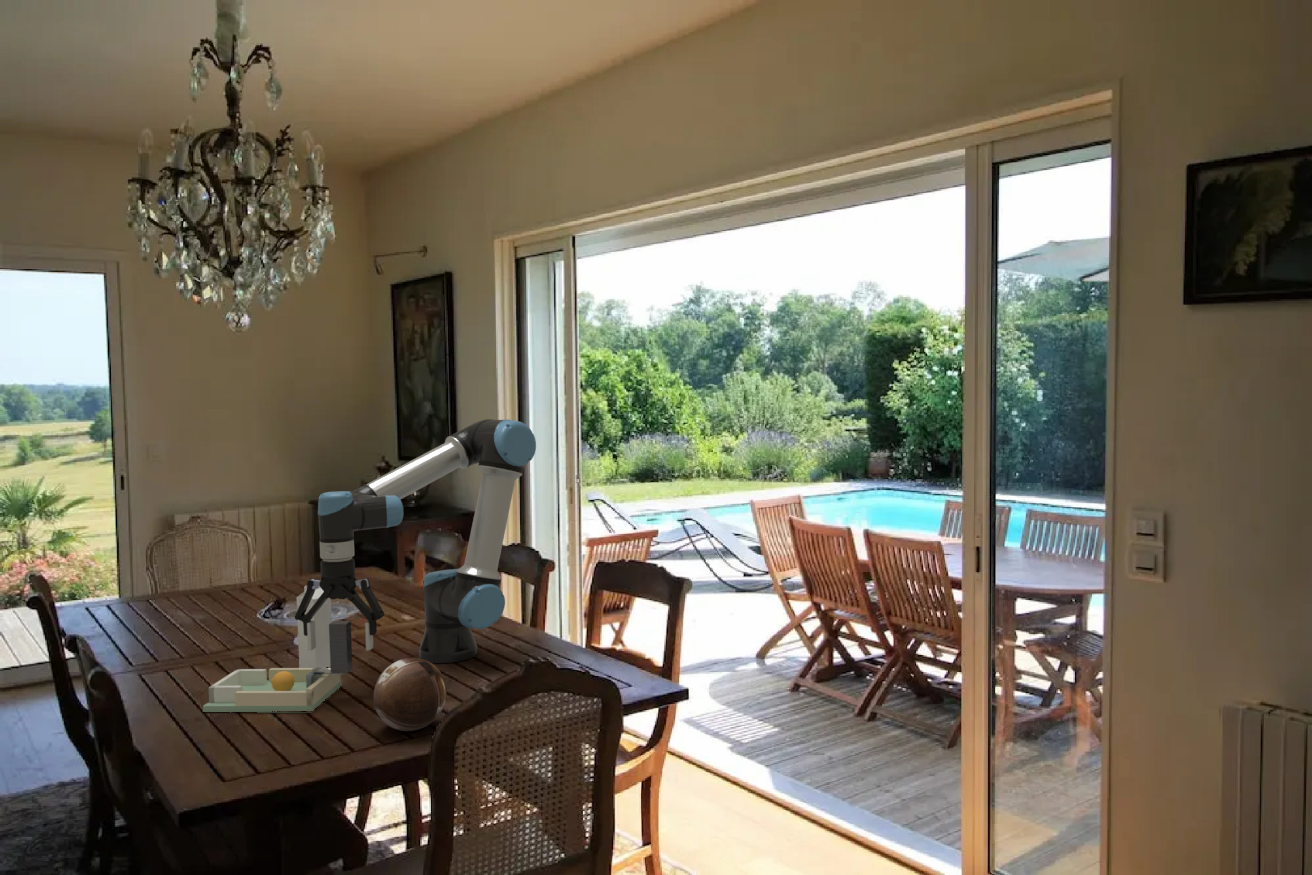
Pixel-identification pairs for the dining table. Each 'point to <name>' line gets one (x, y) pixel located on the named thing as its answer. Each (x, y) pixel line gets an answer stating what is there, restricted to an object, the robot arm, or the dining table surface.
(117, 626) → the dining table surface
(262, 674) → the pitch
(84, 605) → the dining table surface
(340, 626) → the kicker rod
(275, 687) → the ball
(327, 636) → the milk
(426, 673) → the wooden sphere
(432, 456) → the robot arm
